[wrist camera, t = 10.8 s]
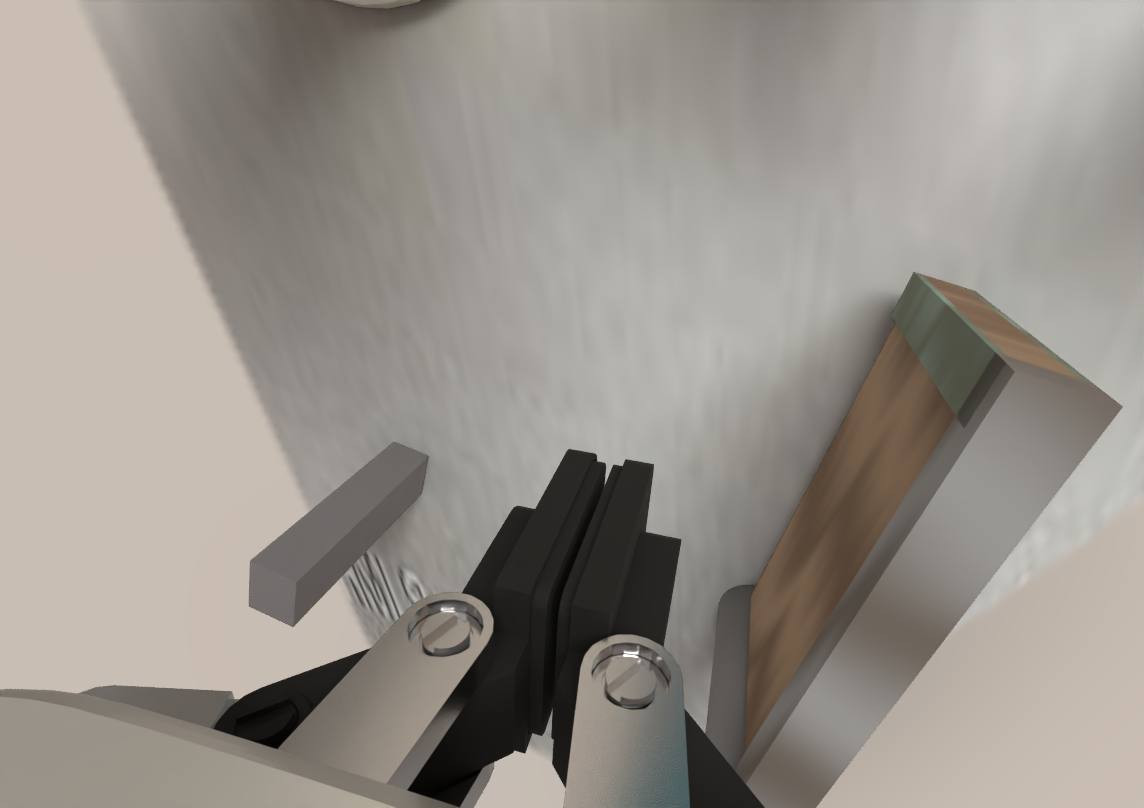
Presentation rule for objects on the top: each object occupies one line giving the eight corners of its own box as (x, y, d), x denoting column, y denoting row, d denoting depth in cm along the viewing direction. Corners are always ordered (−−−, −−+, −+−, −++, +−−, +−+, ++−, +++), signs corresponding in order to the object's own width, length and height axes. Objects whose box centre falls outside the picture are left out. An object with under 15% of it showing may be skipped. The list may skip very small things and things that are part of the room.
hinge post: (710, 619, 30) (678, 878, 20) (733, 575, 29) (712, 828, 19) (769, 644, 30) (768, 922, 20) (795, 601, 29) (809, 874, 18)
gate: (789, 611, 27) (798, 830, 19) (745, 593, 27) (734, 800, 19) (975, 290, 20) (1123, 406, 12) (913, 271, 21) (1014, 371, 12)
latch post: (388, 478, 33) (248, 606, 24) (393, 441, 32) (250, 560, 23) (421, 493, 33) (293, 627, 24) (428, 456, 31) (296, 582, 23)
